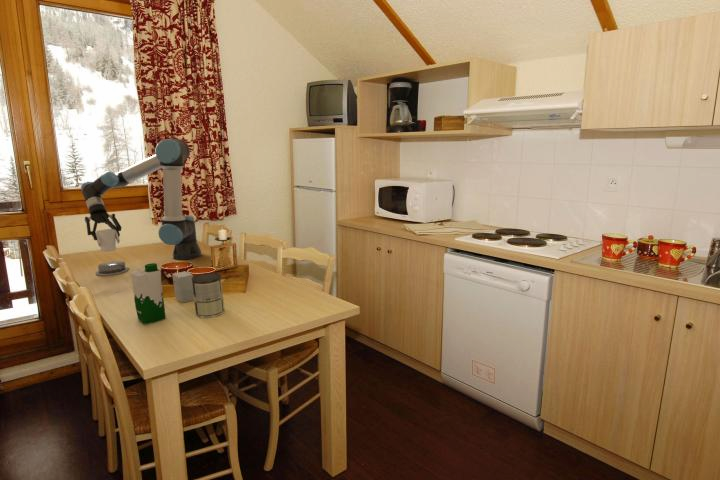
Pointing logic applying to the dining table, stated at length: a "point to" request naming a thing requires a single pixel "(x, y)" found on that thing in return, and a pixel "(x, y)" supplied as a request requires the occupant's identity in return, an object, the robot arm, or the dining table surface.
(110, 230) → the white cup
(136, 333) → the dining table surface
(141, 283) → the milk carton
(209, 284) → the coffee can
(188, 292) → the small box
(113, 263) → the grey round shallow piece
